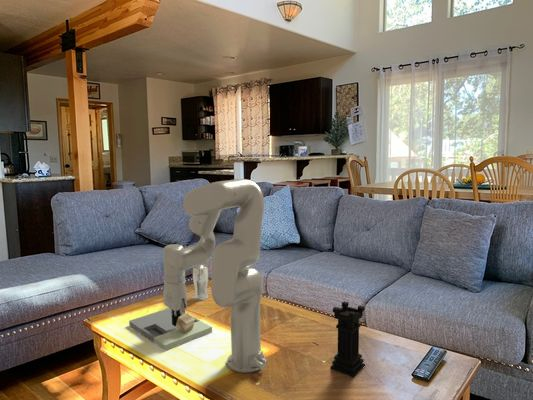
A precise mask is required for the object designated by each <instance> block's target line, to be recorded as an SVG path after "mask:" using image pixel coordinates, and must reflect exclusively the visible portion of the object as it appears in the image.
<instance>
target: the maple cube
mask: <svg viewBox="0 0 533 400" xmlns="http://www.w3.org/2000/svg"><path fill="white" fill-rule="evenodd" d="M185 313H186V314H184V315H182V316H180V317H178V320H177V324H176V328H178V329H179V330H180V331H181V332H183V333H184V334H185V333H186V332H188V331H190V330H192V329H193V326H194V322H195V319H194V318H195V317H194V316H192V315H190V314H189V313H187V312H185ZM193 317H194V318H193Z"/></svg>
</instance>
